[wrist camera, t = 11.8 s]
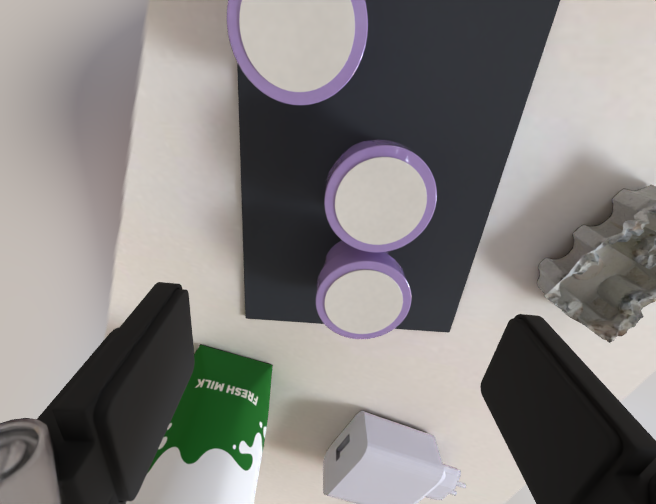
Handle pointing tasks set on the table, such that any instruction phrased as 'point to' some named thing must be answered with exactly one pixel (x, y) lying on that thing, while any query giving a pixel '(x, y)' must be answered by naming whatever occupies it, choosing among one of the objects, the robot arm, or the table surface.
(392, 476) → the charger
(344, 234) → the dish middle
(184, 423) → the milk carton
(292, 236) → the placemat
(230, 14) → the purple short cylinder
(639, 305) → the egg carton
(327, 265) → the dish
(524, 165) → the table surface
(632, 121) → the table surface
